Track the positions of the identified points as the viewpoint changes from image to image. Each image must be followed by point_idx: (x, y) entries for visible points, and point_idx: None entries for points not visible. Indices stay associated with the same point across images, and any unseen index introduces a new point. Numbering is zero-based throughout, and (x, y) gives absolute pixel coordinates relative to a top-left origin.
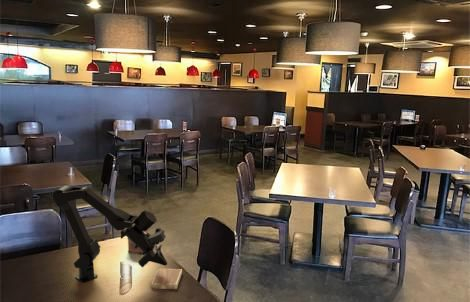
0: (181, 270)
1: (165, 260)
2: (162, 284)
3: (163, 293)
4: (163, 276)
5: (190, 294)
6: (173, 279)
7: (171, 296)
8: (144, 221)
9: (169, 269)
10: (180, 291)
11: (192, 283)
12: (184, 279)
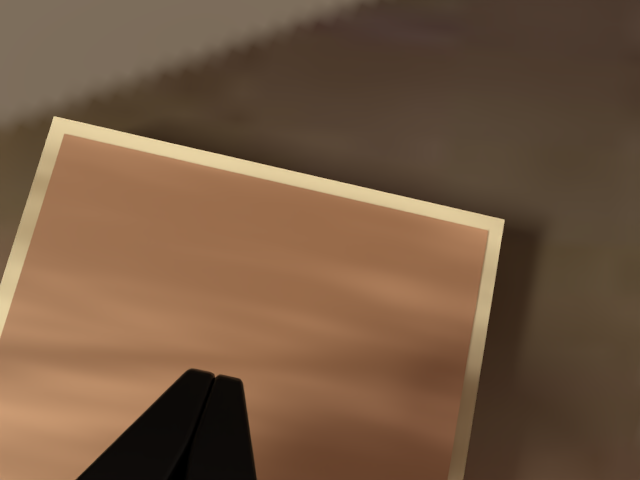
0: (93, 127)
1: (170, 437)
2: (468, 434)
3: (564, 407)
4: None
5: (604, 78)
6: (362, 261)
7: (636, 302)
8: None
9: (13, 322)
10: (533, 188)
11: (364, 32)
12: (248, 121)
